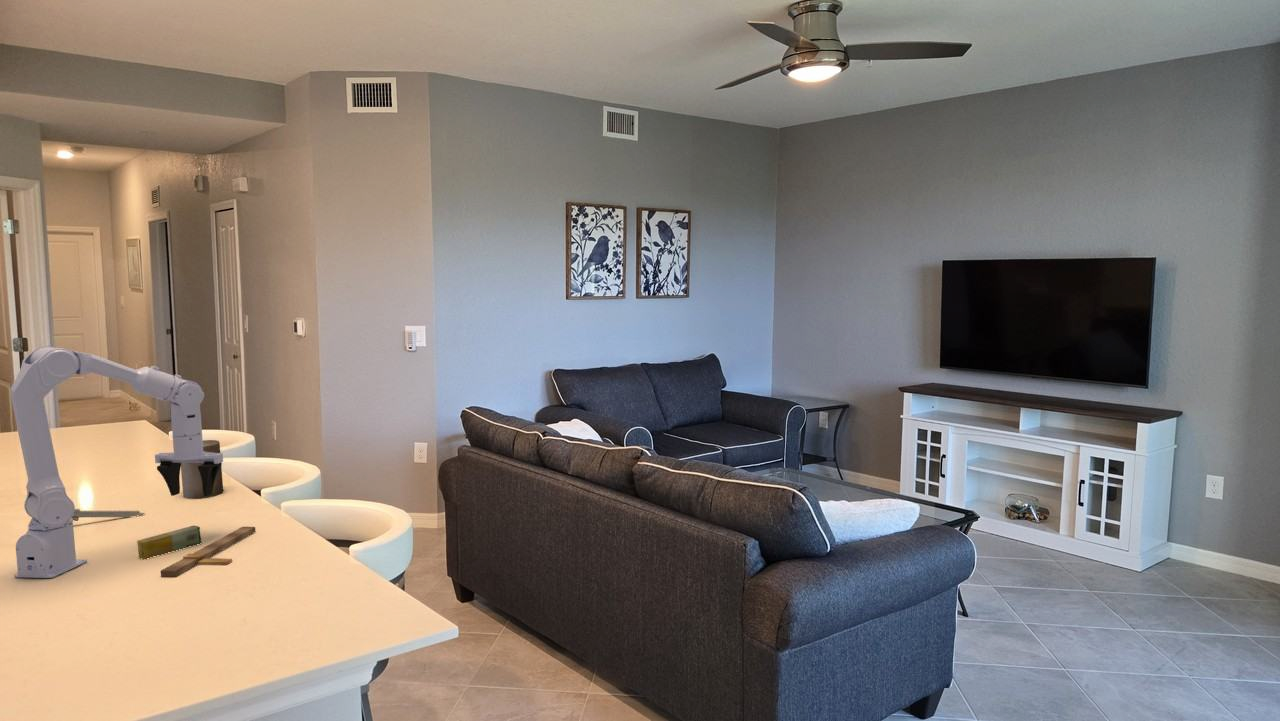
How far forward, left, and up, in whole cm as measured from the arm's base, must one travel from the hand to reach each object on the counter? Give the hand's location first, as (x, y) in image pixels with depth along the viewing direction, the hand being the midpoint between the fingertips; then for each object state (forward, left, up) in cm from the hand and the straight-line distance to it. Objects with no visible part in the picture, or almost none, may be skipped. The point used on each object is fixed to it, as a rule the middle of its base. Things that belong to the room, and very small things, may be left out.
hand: (191, 494), depth 184 cm
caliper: (+9, +30, -10) cm, 33 cm away
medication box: (-9, -1, -10) cm, 14 cm away
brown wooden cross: (-10, -14, -9) cm, 19 cm away
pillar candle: (+35, +20, -10) cm, 41 cm away
